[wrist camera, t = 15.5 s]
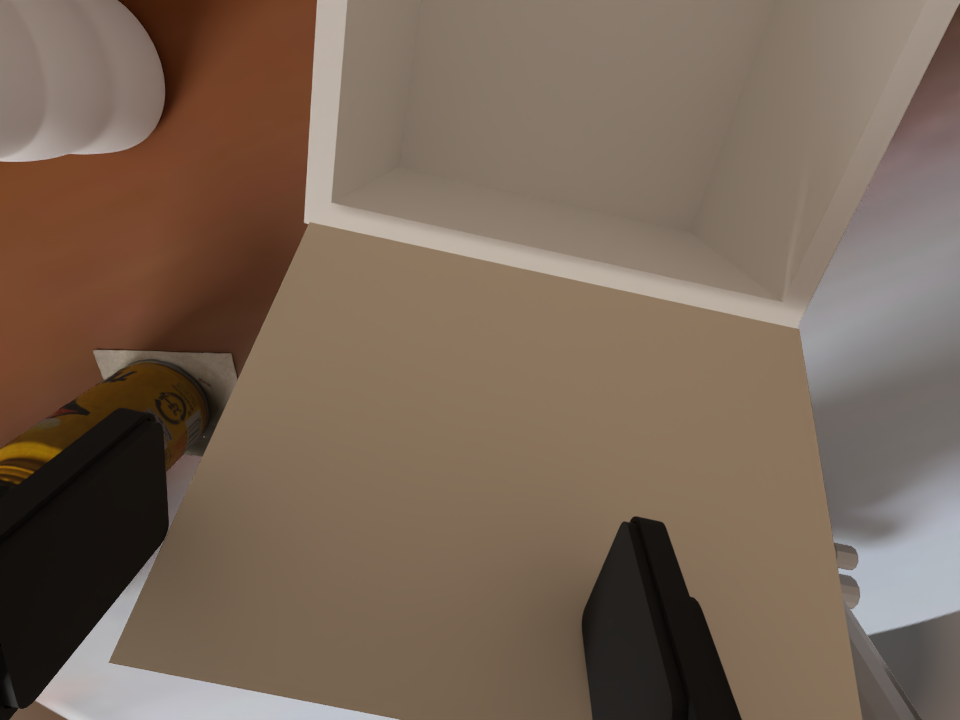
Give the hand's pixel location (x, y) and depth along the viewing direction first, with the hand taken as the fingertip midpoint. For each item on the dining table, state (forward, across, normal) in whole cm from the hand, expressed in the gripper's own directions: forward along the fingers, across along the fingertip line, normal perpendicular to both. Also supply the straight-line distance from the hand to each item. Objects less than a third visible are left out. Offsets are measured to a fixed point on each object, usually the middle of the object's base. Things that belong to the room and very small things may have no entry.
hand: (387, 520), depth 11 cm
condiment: (+20, +16, +13) cm, 28 cm away
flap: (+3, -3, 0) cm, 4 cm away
